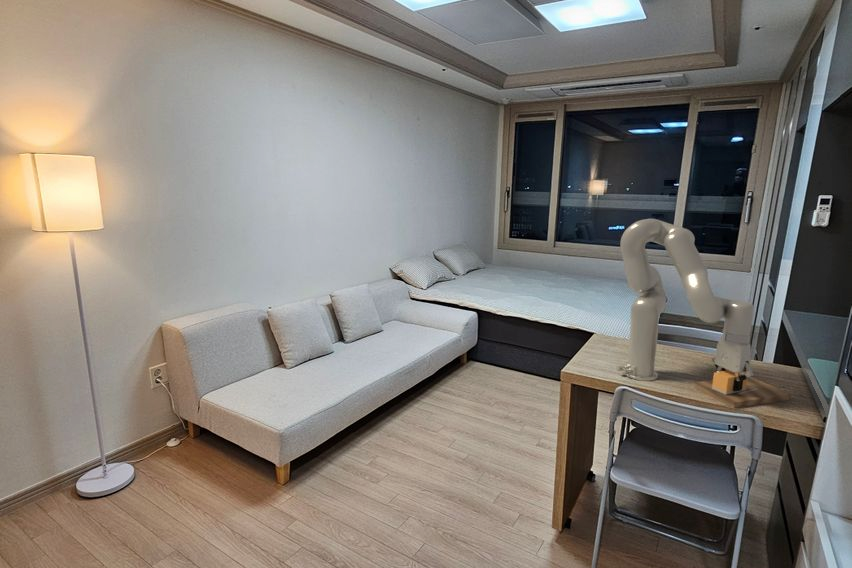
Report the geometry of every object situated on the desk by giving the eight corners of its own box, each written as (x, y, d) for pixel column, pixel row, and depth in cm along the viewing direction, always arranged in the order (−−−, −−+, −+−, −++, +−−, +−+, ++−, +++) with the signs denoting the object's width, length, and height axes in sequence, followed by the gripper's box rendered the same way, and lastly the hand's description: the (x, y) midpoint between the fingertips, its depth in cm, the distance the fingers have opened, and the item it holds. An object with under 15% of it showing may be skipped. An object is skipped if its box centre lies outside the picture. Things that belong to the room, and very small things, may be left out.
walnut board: (733, 408, 146) (734, 402, 145) (694, 387, 161) (695, 382, 161) (790, 399, 151) (791, 394, 151) (747, 380, 167) (748, 375, 166)
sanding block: (725, 394, 150) (728, 378, 149) (711, 388, 155) (713, 372, 154) (745, 389, 154) (748, 373, 153) (731, 384, 158) (733, 368, 157)
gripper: (705, 330, 158) (699, 378, 161) (750, 346, 141) (743, 399, 145) (722, 328, 159) (716, 376, 163) (769, 344, 143) (761, 396, 147)
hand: (729, 386), depth 154 cm, fingers closed on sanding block, 5 cm apart
